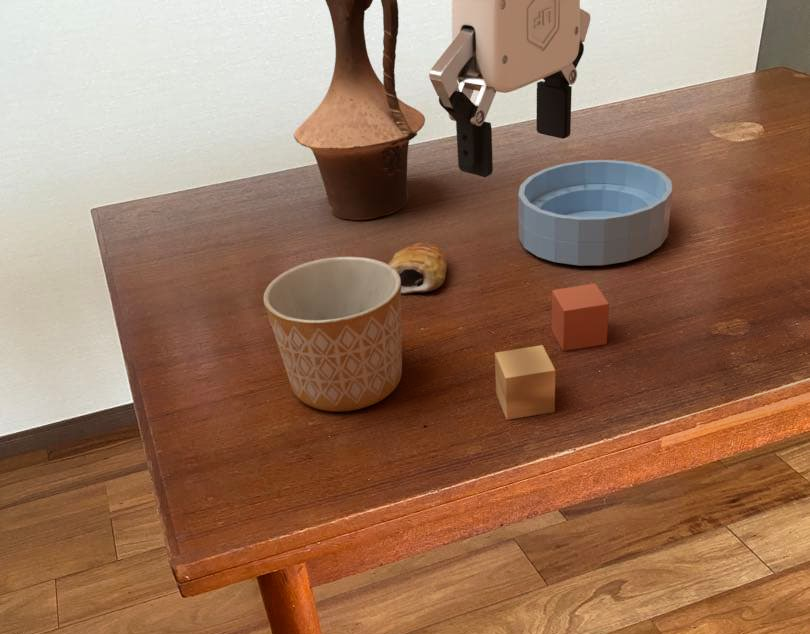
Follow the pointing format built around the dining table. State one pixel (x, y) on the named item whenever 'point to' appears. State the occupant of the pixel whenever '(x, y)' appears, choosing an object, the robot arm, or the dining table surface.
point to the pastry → (420, 267)
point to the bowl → (594, 212)
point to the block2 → (579, 317)
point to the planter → (338, 330)
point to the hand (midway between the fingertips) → (515, 153)
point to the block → (525, 382)
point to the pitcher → (362, 121)
